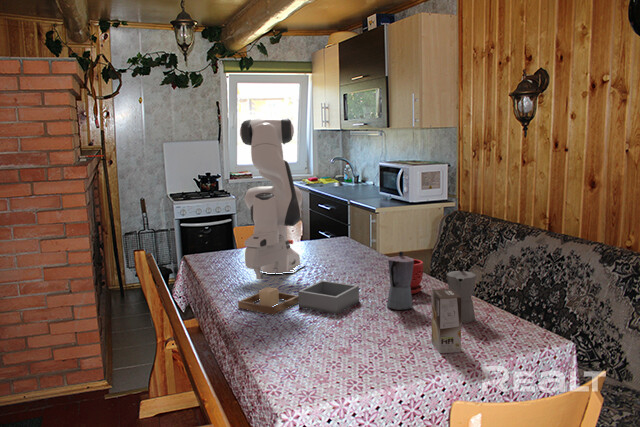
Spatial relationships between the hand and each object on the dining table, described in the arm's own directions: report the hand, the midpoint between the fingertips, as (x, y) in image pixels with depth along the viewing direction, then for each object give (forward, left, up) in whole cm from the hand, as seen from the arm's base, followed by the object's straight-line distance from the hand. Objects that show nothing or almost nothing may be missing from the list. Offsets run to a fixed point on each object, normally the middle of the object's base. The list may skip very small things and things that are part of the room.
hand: (267, 275), depth 195 cm
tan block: (0, 0, -11) cm, 11 cm away
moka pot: (-20, +43, -11) cm, 49 cm away
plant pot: (-39, +37, -11) cm, 55 cm away
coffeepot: (-20, +65, -11) cm, 69 cm away
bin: (-11, +19, -11) cm, 25 cm away
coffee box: (+6, +69, -11) cm, 70 cm away
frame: (0, 0, -11) cm, 11 cm away
